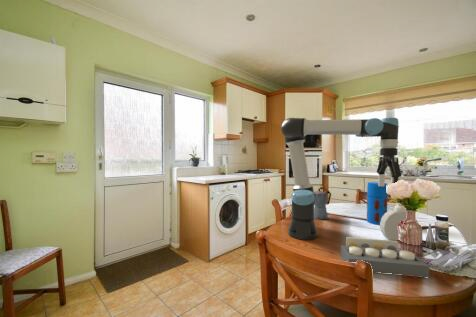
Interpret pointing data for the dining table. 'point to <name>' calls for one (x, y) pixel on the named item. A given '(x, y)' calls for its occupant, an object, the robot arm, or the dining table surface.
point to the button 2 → (371, 252)
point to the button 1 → (355, 251)
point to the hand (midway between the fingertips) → (387, 188)
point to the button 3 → (389, 254)
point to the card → (372, 243)
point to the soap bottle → (392, 222)
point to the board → (389, 263)
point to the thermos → (376, 202)
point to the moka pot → (321, 204)
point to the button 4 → (406, 255)
